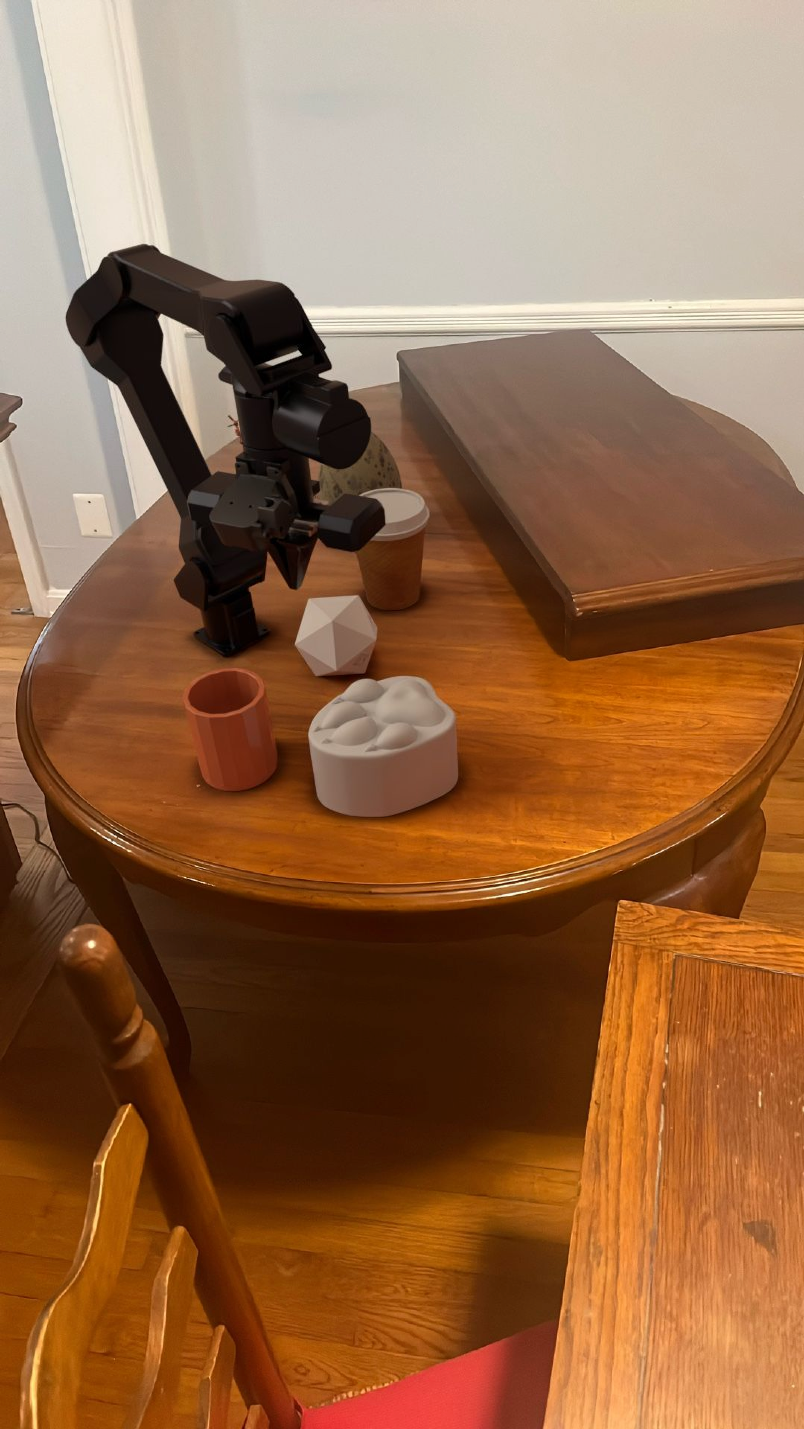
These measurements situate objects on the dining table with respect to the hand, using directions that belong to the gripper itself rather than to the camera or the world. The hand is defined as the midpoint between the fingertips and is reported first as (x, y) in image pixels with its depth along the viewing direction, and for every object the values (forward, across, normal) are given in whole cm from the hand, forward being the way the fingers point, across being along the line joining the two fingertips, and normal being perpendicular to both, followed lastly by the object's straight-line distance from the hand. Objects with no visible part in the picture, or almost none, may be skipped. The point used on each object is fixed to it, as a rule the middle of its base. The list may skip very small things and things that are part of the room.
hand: (295, 587), depth 98 cm
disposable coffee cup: (+12, 0, +19) cm, 23 cm away
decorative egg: (+12, -10, +31) cm, 35 cm away
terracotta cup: (+12, 0, -14) cm, 18 cm away
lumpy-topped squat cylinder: (+12, +14, -10) cm, 21 cm away
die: (+12, +2, +4) cm, 13 cm away
